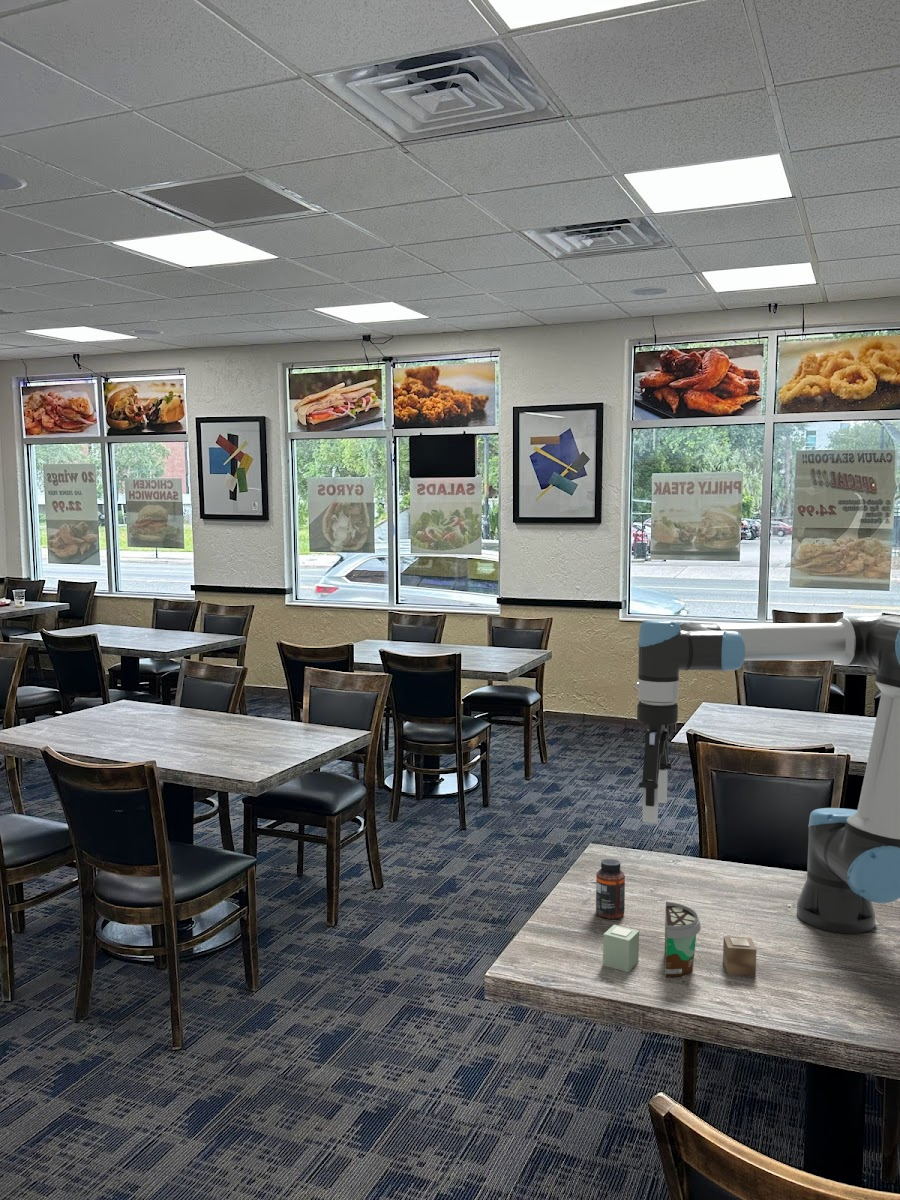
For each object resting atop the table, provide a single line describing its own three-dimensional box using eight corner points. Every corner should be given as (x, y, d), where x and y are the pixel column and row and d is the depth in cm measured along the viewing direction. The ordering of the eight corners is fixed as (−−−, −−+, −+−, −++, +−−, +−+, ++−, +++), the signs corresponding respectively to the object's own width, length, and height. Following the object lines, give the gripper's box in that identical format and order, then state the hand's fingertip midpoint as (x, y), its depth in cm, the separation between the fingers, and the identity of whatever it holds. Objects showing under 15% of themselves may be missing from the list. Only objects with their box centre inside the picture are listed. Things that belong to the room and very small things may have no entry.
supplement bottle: (623, 909, 200) (624, 857, 199) (625, 920, 194) (627, 867, 194) (594, 908, 201) (596, 856, 200) (596, 919, 195) (597, 866, 194)
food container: (701, 985, 167) (703, 930, 166) (665, 981, 168) (667, 926, 168) (697, 954, 179) (699, 903, 179) (664, 951, 180) (665, 900, 180)
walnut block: (750, 963, 176) (751, 936, 176) (755, 976, 171) (756, 948, 171) (722, 961, 177) (723, 935, 176) (727, 974, 172) (728, 946, 171)
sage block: (638, 962, 176) (639, 929, 176) (628, 972, 172) (629, 939, 171) (613, 955, 179) (614, 923, 178) (602, 965, 174) (603, 932, 174)
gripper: (646, 689, 191) (644, 792, 192) (627, 711, 167) (624, 828, 169) (684, 692, 188) (682, 796, 190) (670, 715, 165) (667, 833, 167)
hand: (655, 812), depth 180 cm, fingers open, 13 cm apart
